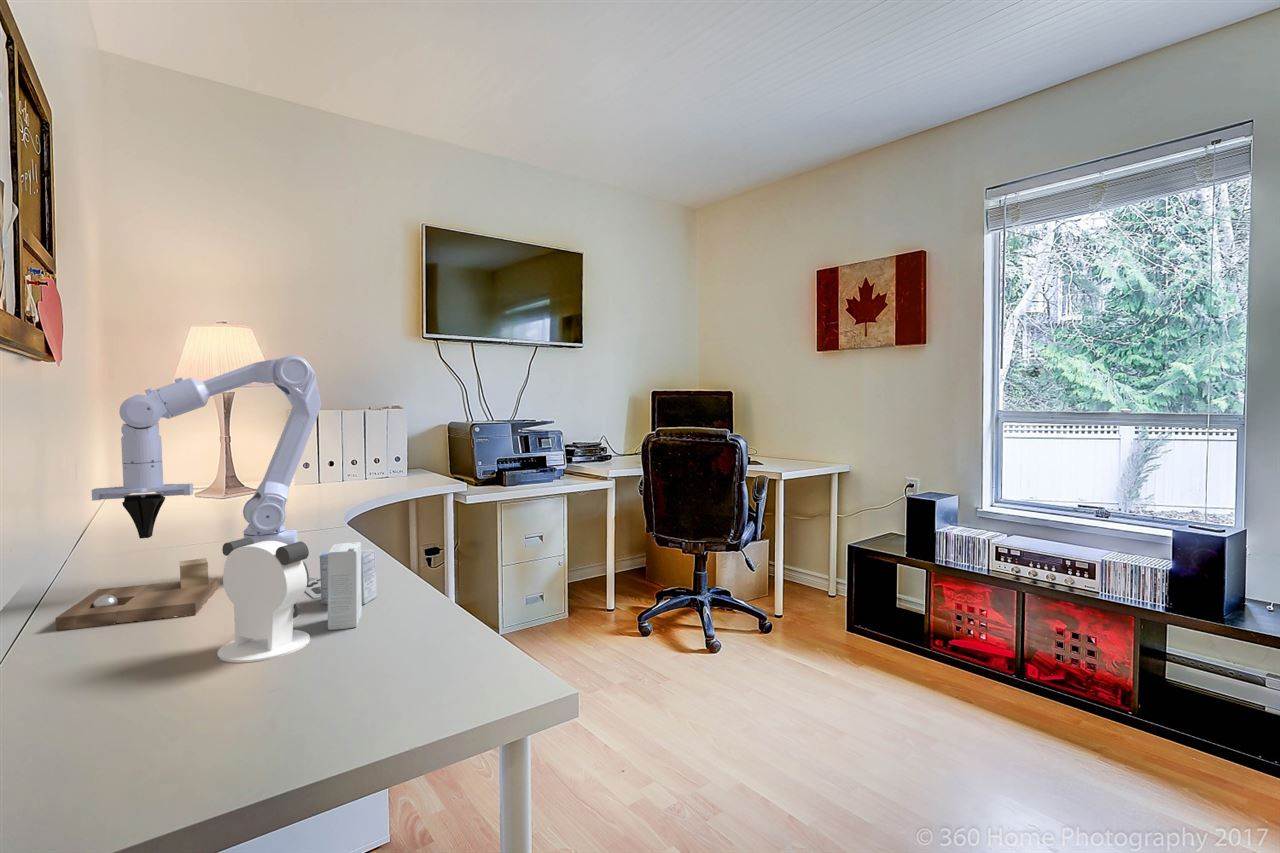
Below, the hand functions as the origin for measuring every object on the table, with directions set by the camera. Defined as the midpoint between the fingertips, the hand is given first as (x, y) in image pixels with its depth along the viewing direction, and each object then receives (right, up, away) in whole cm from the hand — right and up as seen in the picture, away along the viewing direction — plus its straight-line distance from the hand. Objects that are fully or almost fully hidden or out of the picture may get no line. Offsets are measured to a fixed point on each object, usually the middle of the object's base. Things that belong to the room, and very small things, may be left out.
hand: (145, 537), depth 117 cm
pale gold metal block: (+9, -8, 0) cm, 12 cm away
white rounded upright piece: (+36, -12, -25) cm, 45 cm away
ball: (+1, -9, -11) cm, 14 cm away
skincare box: (+43, -11, -15) cm, 47 cm away
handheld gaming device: (+30, -11, +5) cm, 33 cm away
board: (+5, -11, -7) cm, 14 cm away
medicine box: (+39, -11, -4) cm, 40 cm away
